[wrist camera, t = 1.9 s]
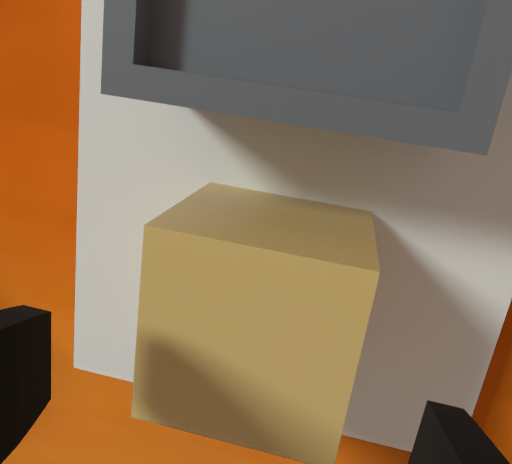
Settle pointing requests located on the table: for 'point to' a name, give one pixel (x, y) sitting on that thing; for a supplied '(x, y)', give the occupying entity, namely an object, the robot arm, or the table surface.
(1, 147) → the table surface
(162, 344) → the ochre block
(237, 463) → the table surface
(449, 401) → the build board
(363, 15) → the charcoal base block
